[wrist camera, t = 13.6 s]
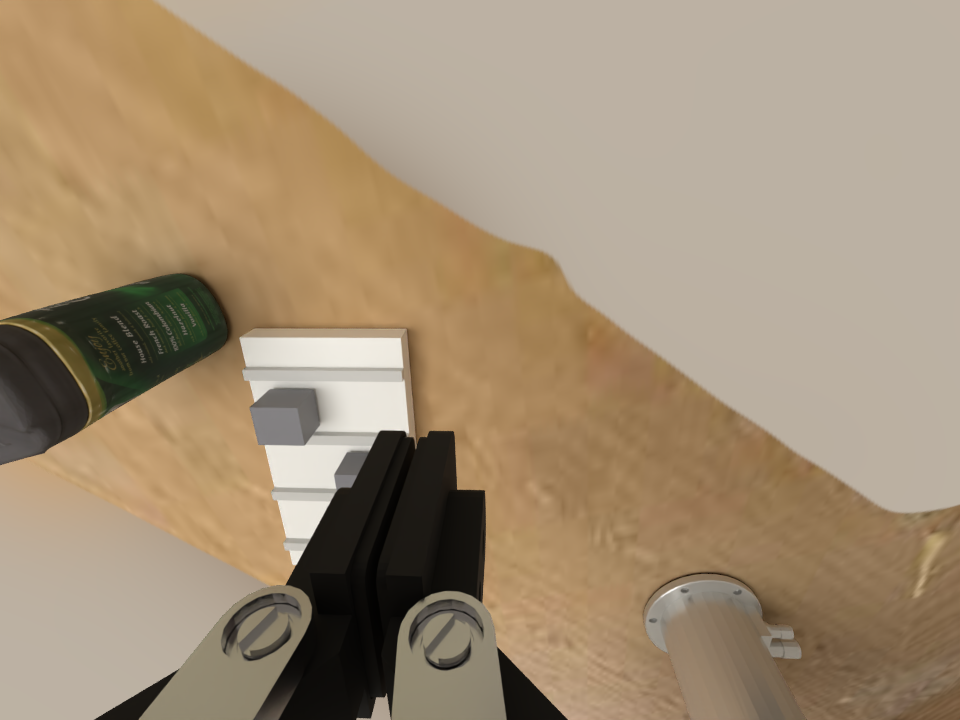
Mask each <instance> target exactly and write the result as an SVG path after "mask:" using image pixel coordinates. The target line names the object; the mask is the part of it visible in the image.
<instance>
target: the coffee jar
mask: <svg viewBox="0 0 960 720" xmlns="http://www.w3.org/2000/svg"><path fill="white" fill-rule="evenodd" d="M227 333H228V331H227V325H226V321H225V319H224V316H223V313H222V311H221V309H220V307H219V305H218V303H217V302H216V300H215V298H214V297H213V295H212V294H211V293H210V291H209V290H208V289H207V288H206V287H205V286H204V285H203V284H202V283H201V282H200V281H198V280H197V279H195V278H193V277H191V276H188V275H185V274H171V275H165V276H160V277H156V278H152V279H148V280H144V281H140V282H136V283H133V284H129V285H126V286H122V287H119V288H115V289H112V290H108V291H104V292H100V293H96V294H92V295H88V296H85V297H81V298H77V299H73V300H69V301H66V302H62V303H58V304H54V305H50V306H47V307H44V308H41V309H37V310H33V311H30V312H27V313H23V314H20V315H17V316H13V317H10V318H6V319H3V320H0V465H2V464H6V463H9V462H12V461H16V460H20V459H24V458H27V457H31V456H35V455H39V454H43V453H45V452H46V451H47V450H48V449H49V448H51V447H52V446H54V445H56V444H58V443H60V442H62V441H64V440H66V439H67V438H69V437H71V436H73V435H75V434H77V433H78V432H80V431H82V430H83V429H85V428H86V427H88V426H89V425H91V424H93V423H94V422H96V421H97V420H99V419H100V418H102V417H104V416H105V415H107V414H109V413H110V412H112V411H114V410H115V409H117V408H119V407H120V406H122V405H124V404H125V403H127V402H129V401H131V400H132V399H134V398H136V397H137V396H139V395H141V394H142V393H144V392H146V391H148V390H149V389H151V388H153V387H155V386H156V385H158V384H160V383H161V382H163V381H165V380H167V379H168V378H170V377H172V376H173V375H175V374H177V373H179V372H181V371H182V370H184V369H186V368H188V367H190V366H191V365H193V364H195V363H197V362H199V361H200V360H202V359H204V358H206V357H207V356H209V355H211V354H212V353H214V352H216V351H217V350H219V349H220V348H221V347H222V346H223V345H224V343H225V342H226V339H227Z"/></svg>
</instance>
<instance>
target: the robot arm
mask: <svg viewBox="0 0 960 720" xmlns="http://www.w3.org/2000/svg"><path fill="white" fill-rule="evenodd" d="M485 540H486V507H485V490H457V477H456V456H455V436H454V432H453V431H429V433H428V436H427V437H420V438H419V441H418V444H417V447H416V448H415V440H414V437H407V435H406V432H405V431H395V430H381V431H380V432H379V433H378V435H377V437H376V439H375V441H374V443H373V445H372V447H371V449H370V451H369V453H368V455H367V457H366V459H365V461H364V463H363V465H362V467H361V469H360V471H359V473H358V475H357V477H356V479H355V481H354V483H353V485H352V487H351V488H348V487H341V488H339V489H338V490H337V491H336V493H335V494H334V496H333V498H332V500H331V502H330V504H329V505H328V507H327V509H326V511H325V513H324V515H323V517H322V518H321V520H320V522H319V524H318V526H317V528H316V530H315V531H314V533H313V535H312V537H311V539H310V541H309V543H308V544H307V546H306V548H305V550H304V552H303V554H302V556H301V557H300V559H299V561H298V563H297V565H296V567H295V569H294V570H293V572H292V574H291V576H290V578H289V580H288V581H287V583H286V585H285V586H283V585H276V586H272V587H267V588H263V589H260V590H258V591H256V592H254V593H251V594H249V595H247V596H246V597H244V598H243V599H241V600H240V601H239V602H237V603H235V604H234V605H233V606H232V607H231V608H230V609H229V610H228V611H227V612H226V613H225V614H224V615H223V616H222V617H221V618H220V620H219V621H218V622H217V623H216V624H215V626H214V627H213V628H212V630H211V631H210V632H209V633H208V634H207V636H206V637H205V638H204V639H203V641H202V642H201V643H200V644H199V646H198V647H197V648H196V649H195V650H194V652H193V653H192V654H191V655H190V657H189V658H188V659H187V660H186V662H185V663H184V664H183V665H182V667H181V668H180V669H178V670H177V671H175V672H173V673H172V674H170V675H168V676H167V677H165V678H163V679H162V680H160V681H159V682H157V683H155V684H153V685H152V686H150V687H148V688H147V689H145V690H143V691H141V692H140V693H138V694H137V695H135V696H134V697H131V698H130V699H128V700H126V701H125V702H123V703H122V704H120V705H118V706H116V707H115V708H113V709H111V710H110V711H108V712H106V713H105V714H103V715H101V716H100V717H98V718H96V719H95V720H356V718H371V716H372V712H373V708H374V704H375V700H376V697H385V696H386V693H387V697H388V704H389V710H390V717H391V720H568V719H567V718H566V717H565V716H564V715H563V714H562V713H561V712H560V711H559V710H558V709H557V708H556V707H555V706H554V705H553V704H552V703H551V702H550V701H549V700H548V699H547V698H546V697H545V696H544V695H543V694H542V693H541V692H540V691H539V689H538V688H537V687H536V686H535V685H534V684H533V683H532V682H531V681H530V680H529V679H528V678H527V677H526V676H525V675H524V674H523V673H522V672H521V671H520V670H519V669H518V668H517V667H516V666H515V665H514V664H513V663H512V662H511V660H510V659H509V658H508V657H507V656H506V655H505V654H504V653H503V652H502V651H501V650H500V649H499V648H498V647H497V644H496V636H495V628H494V625H493V621H492V618H491V615H490V613H489V612H488V610H487V609H486V608H485V606H484V605H483V604H482V599H483V582H484V564H485ZM762 617H763V613H762V608H761V605H760V603H759V601H758V599H757V598H756V596H755V595H754V593H753V592H752V590H751V589H750V588H748V587H747V586H746V585H745V584H743V583H742V582H740V581H738V580H736V579H733V578H730V577H728V576H723V575H717V574H697V575H690V576H686V577H682V578H679V579H677V580H674V581H672V582H670V583H668V584H667V585H665V586H663V587H662V588H660V589H659V590H658V591H657V592H656V593H655V594H654V595H653V596H652V597H651V598H650V599H649V601H648V603H647V605H646V607H645V610H644V614H643V620H644V625H645V629H646V632H647V634H648V636H649V639H650V640H651V641H652V642H653V643H654V645H655V646H657V647H658V648H659V649H661V650H662V651H664V652H666V653H668V654H669V657H670V660H671V663H672V666H673V669H674V672H675V675H676V678H677V681H678V684H679V687H680V690H681V693H682V695H683V698H684V701H685V704H686V707H687V710H688V713H689V716H690V719H691V720H807V719H806V717H805V715H804V714H803V712H802V710H801V708H800V706H799V705H798V703H797V701H796V699H795V697H794V695H793V694H792V692H791V690H790V688H789V686H788V685H787V683H786V681H785V679H784V677H783V675H782V674H781V672H780V670H779V668H778V666H777V665H776V663H775V661H774V659H773V657H780V658H787V659H800V658H801V648H800V646H799V644H798V642H797V641H796V640H795V639H794V632H793V629H792V627H791V626H790V625H786V624H775V625H768V623H767V622H765V621H763V620H762Z"/></svg>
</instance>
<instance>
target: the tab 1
mask: <svg viewBox="0 0 960 720" xmlns="http://www.w3.org/2000/svg"><path fill="white" fill-rule="evenodd" d="M250 411H251V416H252V420H253V424H254V428H255V432H256V436H257V441H258V445H289V446H305V445H306V443H307V442H308V441H309V439H310V438H311V437H312V435H313V434H314V433H315V431H316V430H317V429H318V427H319V426H320V421H319V416H318V410H317V404H316V399H315V393H314V389H269V390H268V391H267V392H266V393H265V394H264V395H263V396H262V397H261V398H259V399H258V400H257V401H256V402H255V403H254V404H253V405H252V406H251V407H250Z"/></svg>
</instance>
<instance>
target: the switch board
mask: <svg viewBox="0 0 960 720" xmlns="http://www.w3.org/2000/svg"><path fill="white" fill-rule="evenodd" d="M239 338H240V342H241V346H242V351H243V355H244V359H245V363H246V368H244V369H243V370H242V372H243V377H244V381H250V385H251V389H252V393H253V398H254V402H256V401H257V400H258V399H259V398H261V397H262V396H263V395H264V394H265V393H266V392H267V391H268V390H269V389H314V393H315V399H316V404H317V410H318V416H319V421H320V426H319V427H318V429H317V430H316V431H315V433H314V434H313V435H312V437H311V438H310V439H309V441H308V442H307V443H306V445H305V446H289V445H265V449H266V453H267V457H268V461H269V466H270V470H271V474H272V479H273V483H274V489H273V490H272V491H271V493H272V498H273V500H278V504H279V508H280V513H281V517H282V521H283V525H284V530H285V534H286V540H285V541H284V543H283V544H284V548H285V550H289V551H290V555H291V559H292V564H293V565H297V563H298V561H299V559H300V557H301V556H302V554H303V552H304V550H305V548H306V546H307V544H308V543H309V541H310V539H311V537H312V535H313V533H314V531H315V530H316V528H317V526H318V524H319V522H320V520H321V518H322V517H323V515H324V513H325V511H326V509H327V507H328V505H329V504H330V502H331V500H332V498H333V496H334V494H335V493H336V491H337V490H336V484H335V478H334V474H335V472H336V470H337V469H338V467H339V465H340V463H341V462H342V460H343V458H344V456H345V455H346V453H347V452H359V453H369V451H370V449H371V447H372V445H373V443H374V441H375V439H376V437H377V435H378V433H379V432H380V431H381V430H395V431H405V432H406V435H407V437H414V440H415V448H416V447H417V445H416V433H415V421H414V409H413V397H412V385H411V373H410V361H409V349H408V337H407V329H371V328H254V329H253V330H251V331H249V332H248V333H246V334H244V335H243V336H241V337H239Z"/></svg>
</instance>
